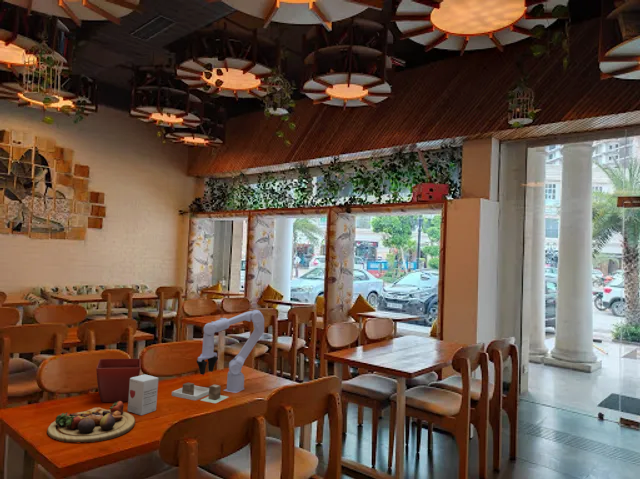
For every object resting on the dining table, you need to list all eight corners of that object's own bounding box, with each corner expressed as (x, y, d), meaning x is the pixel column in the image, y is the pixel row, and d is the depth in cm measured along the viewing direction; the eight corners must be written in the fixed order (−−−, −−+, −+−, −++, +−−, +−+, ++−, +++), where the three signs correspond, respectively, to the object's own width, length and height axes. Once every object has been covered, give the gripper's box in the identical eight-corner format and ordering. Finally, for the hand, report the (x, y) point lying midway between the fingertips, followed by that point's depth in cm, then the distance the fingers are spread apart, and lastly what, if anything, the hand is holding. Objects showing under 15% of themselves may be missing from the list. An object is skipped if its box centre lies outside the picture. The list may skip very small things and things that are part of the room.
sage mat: (213, 395, 247) (213, 393, 247) (229, 398, 244) (229, 396, 244) (199, 401, 236) (199, 400, 236) (215, 404, 233) (215, 403, 233)
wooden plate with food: (110, 409, 219) (110, 391, 219) (150, 428, 199) (151, 408, 199) (33, 429, 193) (34, 408, 194) (70, 452, 174) (71, 429, 174)
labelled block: (220, 398, 241) (220, 385, 241) (215, 400, 237) (216, 387, 238) (213, 396, 243) (214, 384, 243) (208, 398, 239) (209, 386, 239)
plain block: (186, 394, 244) (187, 382, 244) (193, 395, 242) (194, 383, 242) (181, 396, 240) (182, 384, 240) (188, 397, 238) (189, 385, 239)
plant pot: (138, 391, 246) (140, 357, 246) (138, 403, 228) (140, 367, 228) (97, 393, 239) (99, 358, 240) (93, 405, 222) (96, 368, 222)
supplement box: (126, 411, 216) (128, 377, 217) (142, 406, 224) (144, 373, 225) (141, 415, 212) (143, 381, 212) (156, 410, 220) (159, 377, 220)
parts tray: (190, 389, 254) (190, 384, 254) (212, 393, 249) (213, 388, 249) (171, 396, 240) (171, 391, 240) (195, 401, 235) (195, 396, 235)
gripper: (209, 343, 262) (208, 368, 262) (193, 347, 248) (191, 374, 248) (220, 345, 259) (219, 370, 259) (205, 349, 246) (203, 376, 246)
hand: (206, 372), depth 253 cm, fingers open, 7 cm apart
